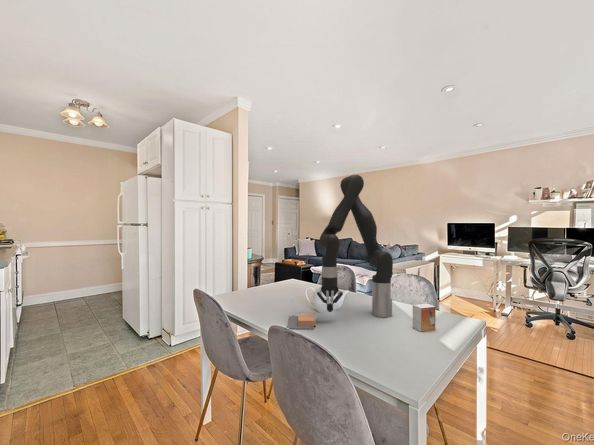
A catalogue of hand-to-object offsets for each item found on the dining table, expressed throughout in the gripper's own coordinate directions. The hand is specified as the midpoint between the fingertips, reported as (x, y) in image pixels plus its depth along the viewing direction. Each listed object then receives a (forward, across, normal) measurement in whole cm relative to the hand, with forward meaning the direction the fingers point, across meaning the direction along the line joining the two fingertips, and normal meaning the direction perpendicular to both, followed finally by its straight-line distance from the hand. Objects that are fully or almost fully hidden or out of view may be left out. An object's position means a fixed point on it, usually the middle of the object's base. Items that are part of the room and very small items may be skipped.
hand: (329, 311), depth 128 cm
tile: (+4, +7, 0) cm, 8 cm away
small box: (+6, -42, +6) cm, 43 cm away
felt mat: (+5, +14, 0) cm, 15 cm away
